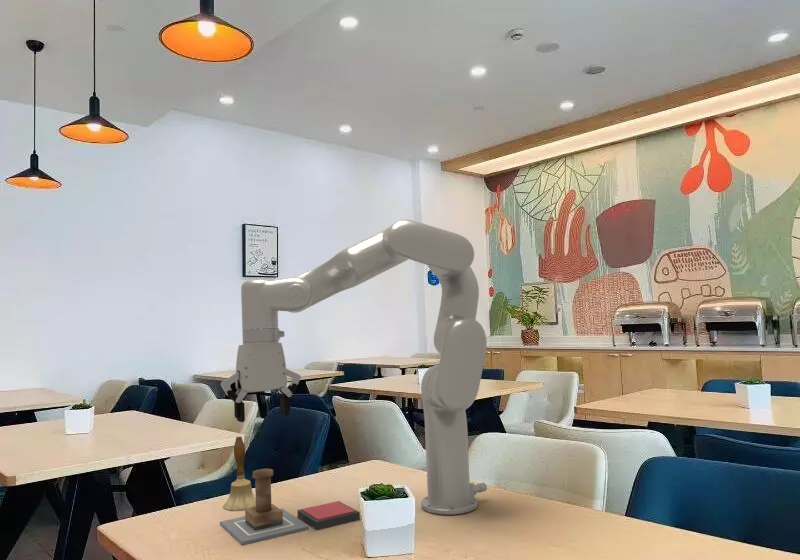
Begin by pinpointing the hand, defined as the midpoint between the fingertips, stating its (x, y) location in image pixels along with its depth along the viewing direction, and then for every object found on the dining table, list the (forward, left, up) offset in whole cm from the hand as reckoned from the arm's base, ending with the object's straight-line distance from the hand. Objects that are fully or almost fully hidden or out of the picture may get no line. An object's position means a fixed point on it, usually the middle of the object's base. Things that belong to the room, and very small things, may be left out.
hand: (263, 418), depth 128 cm
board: (+1, 0, -22) cm, 22 cm away
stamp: (0, 0, -22) cm, 22 cm away
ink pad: (-12, +4, -22) cm, 26 cm away
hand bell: (0, -18, -23) cm, 29 cm away
